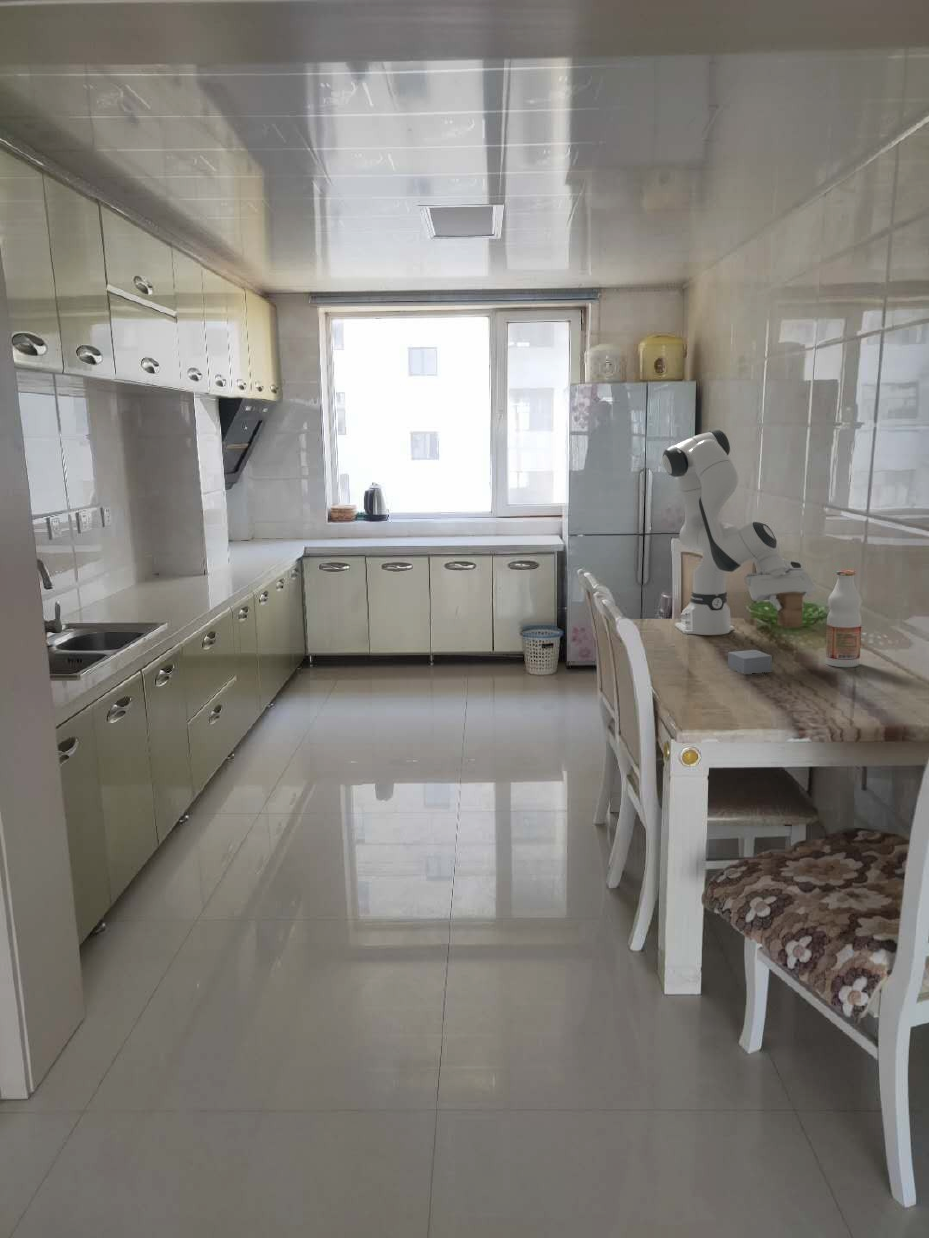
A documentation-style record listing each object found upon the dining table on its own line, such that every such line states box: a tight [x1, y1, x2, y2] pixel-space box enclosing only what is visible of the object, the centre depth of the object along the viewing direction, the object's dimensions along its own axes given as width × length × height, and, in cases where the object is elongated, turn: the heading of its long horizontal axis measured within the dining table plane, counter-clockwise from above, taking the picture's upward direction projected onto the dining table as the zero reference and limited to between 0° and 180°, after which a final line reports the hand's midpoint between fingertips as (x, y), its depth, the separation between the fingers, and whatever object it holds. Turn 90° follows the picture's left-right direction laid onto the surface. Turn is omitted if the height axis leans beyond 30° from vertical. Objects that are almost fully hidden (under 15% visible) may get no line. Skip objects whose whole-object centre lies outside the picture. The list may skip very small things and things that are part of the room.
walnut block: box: [777, 591, 804, 629], centre depth 269 cm, size 5×5×10 cm
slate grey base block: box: [727, 649, 773, 676], centre depth 266 cm, size 9×9×5 cm
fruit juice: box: [825, 569, 863, 668], centre depth 266 cm, size 9×9×28 cm
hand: (791, 608), depth 269 cm, fingers closed on walnut block, 5 cm apart
